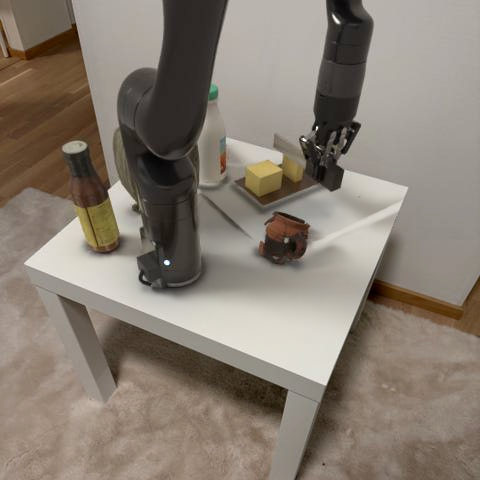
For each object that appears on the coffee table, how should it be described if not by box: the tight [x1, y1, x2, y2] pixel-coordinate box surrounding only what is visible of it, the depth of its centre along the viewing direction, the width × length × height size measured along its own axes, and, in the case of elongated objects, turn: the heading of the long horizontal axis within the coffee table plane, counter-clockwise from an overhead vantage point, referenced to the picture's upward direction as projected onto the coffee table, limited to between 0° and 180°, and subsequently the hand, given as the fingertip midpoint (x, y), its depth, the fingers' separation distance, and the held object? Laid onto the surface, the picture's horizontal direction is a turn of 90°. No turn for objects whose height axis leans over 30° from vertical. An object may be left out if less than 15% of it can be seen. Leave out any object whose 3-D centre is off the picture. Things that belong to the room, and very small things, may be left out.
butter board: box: [233, 163, 320, 207], centre depth 99 cm, size 17×11×2 cm, turn 125°
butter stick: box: [245, 159, 283, 197], centre depth 95 cm, size 6×5×4 cm
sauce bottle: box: [61, 140, 121, 253], centre depth 78 cm, size 7×6×20 cm
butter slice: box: [281, 154, 303, 183], centre depth 98 cm, size 2×5×4 cm, turn 35°
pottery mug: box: [258, 211, 311, 264], centre depth 83 cm, size 12×10×8 cm
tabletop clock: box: [112, 126, 200, 212], centre depth 83 cm, size 14×9×25 cm, turn 123°
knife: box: [272, 132, 345, 193], centre depth 89 cm, size 2×20×4 cm, turn 35°
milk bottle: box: [197, 83, 227, 184], centre depth 93 cm, size 8×8×20 cm
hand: (322, 177), depth 87 cm, fingers closed on knife, 2 cm apart
